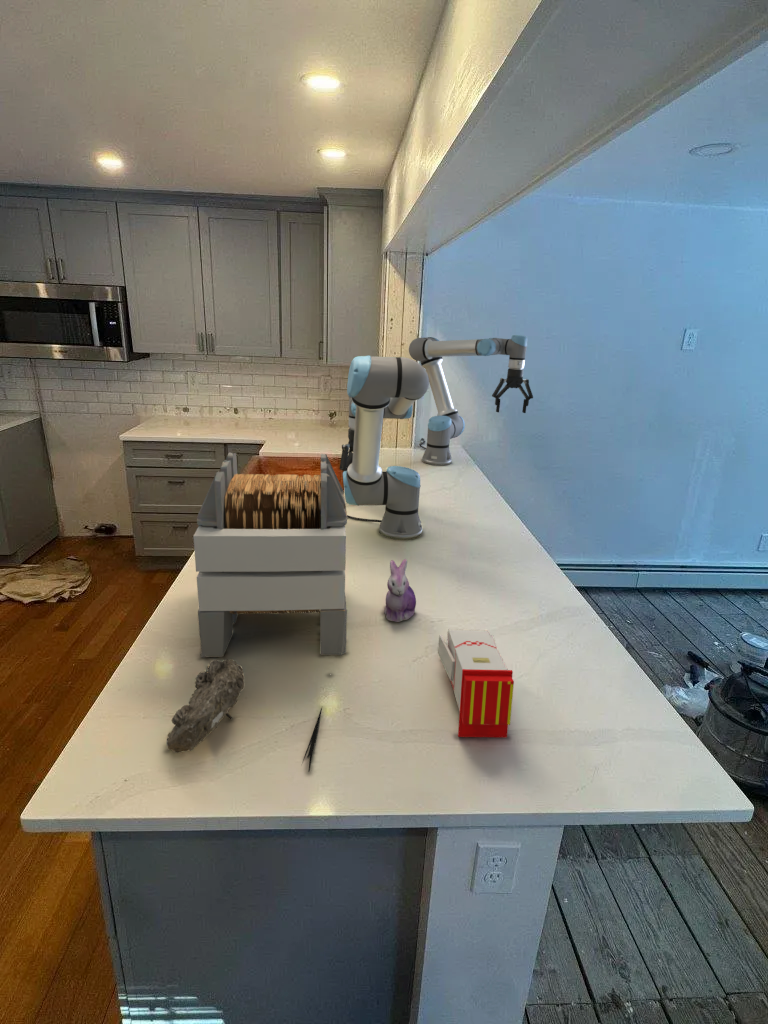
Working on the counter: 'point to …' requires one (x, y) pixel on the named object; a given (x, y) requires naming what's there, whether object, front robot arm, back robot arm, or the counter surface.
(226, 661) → the fossil
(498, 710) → the toy
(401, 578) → the figurine
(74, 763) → the counter surface
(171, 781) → the counter surface
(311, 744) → the feather
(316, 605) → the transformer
